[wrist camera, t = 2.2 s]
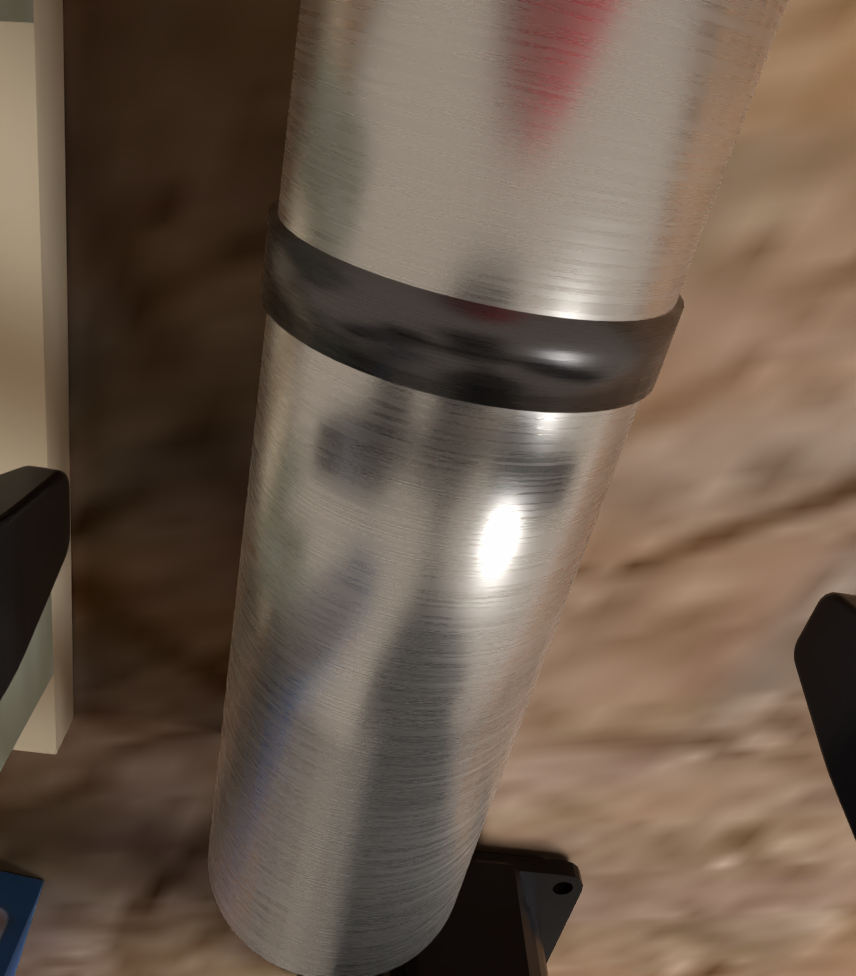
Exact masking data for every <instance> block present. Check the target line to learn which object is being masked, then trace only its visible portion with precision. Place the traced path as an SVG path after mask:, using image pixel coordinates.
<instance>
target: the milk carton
mask: <svg viewBox="0 0 856 976" xmlns="http://www.w3.org/2000/svg"><path fill="white" fill-rule="evenodd" d="M43 883H44V880H41V879H36V878H32V877H27V876H22V875H18V874H13V873H8V872H4V871H0V976H15V973H16V970H17V967H18V963H19V960H20V957H21V954H22V951H23V947H24V944H25V941H26V938H27V934H28V931H29V928H30V925H31V922H32V918H33V915H34V912H35V909H36V905H37V902H38V899H39V896H40V893H41V889H42V886H43Z"/></svg>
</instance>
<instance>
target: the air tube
mask: <svg viewBox="0 0 856 976" xmlns="http://www.w3.org/2000/svg"><path fill="white" fill-rule="evenodd" d="M787 2H788V0H301V2H300V11H299V20H298V29H297V39H296V48H295V57H294V66H293V75H292V85H291V94H290V103H289V112H288V122H287V131H286V140H285V149H284V158H283V168H282V177H281V186H280V195H279V199H278V200H276V201H275V202H274V203H273V204H272V205H271V206H270V209H269V215H268V225H267V235H266V244H265V254H264V264H263V273H262V283H261V293H260V296H261V301H262V305H263V306H264V308H265V310H266V311H267V315H266V324H265V333H264V343H263V352H262V361H261V370H260V379H259V389H258V398H257V407H256V416H255V425H254V435H253V444H252V453H251V462H250V471H249V481H248V490H247V499H246V508H245V518H244V527H243V536H242V545H241V554H240V564H239V573H238V582H237V591H236V600H235V610H234V619H233V628H232V637H231V646H230V656H229V665H228V674H227V683H226V693H225V702H224V711H223V720H222V729H221V739H220V748H219V757H218V766H217V775H216V785H215V794H214V803H213V812H212V821H211V831H210V840H209V849H208V872H209V878H210V884H211V888H212V891H213V894H214V897H215V900H216V903H217V905H218V907H219V909H220V911H221V913H222V915H223V917H224V918H225V920H226V921H227V923H228V924H229V926H230V927H231V928H232V930H233V931H234V932H235V934H236V935H237V936H238V937H239V938H240V939H241V940H242V941H243V942H244V943H245V944H246V945H247V946H248V947H249V948H251V949H252V950H253V951H255V952H256V953H257V954H258V955H260V956H261V957H262V958H264V959H266V960H268V961H269V962H271V963H273V964H274V965H276V966H278V967H280V968H283V969H285V970H288V971H290V972H292V973H295V974H299V975H303V976H375V975H378V974H382V973H385V972H388V971H390V970H392V969H394V968H396V967H399V966H401V965H403V964H404V963H406V962H407V961H409V960H410V959H412V958H413V957H415V956H417V955H418V954H419V953H420V952H421V951H422V950H423V949H425V948H426V947H427V946H428V945H429V944H430V943H431V942H432V941H433V939H434V938H435V937H436V936H437V935H438V934H439V932H440V931H441V929H442V928H443V926H444V925H445V923H446V921H447V920H448V918H449V916H450V913H451V911H452V909H453V906H454V904H455V901H456V899H457V896H458V893H459V891H460V888H461V885H462V882H463V880H464V877H465V874H466V872H467V869H468V866H469V863H470V861H471V858H472V855H473V853H474V850H475V847H476V844H477V842H478V839H479V836H480V834H481V831H482V828H483V825H484V823H485V820H486V817H487V815H488V812H489V809H490V807H491V804H492V801H493V798H494V796H495V793H496V790H497V788H498V785H499V782H500V779H501V777H502V774H503V771H504V769H505V766H506V763H507V760H508V758H509V755H510V752H511V750H512V747H513V744H514V741H515V739H516V736H517V733H518V731H519V728H520V725H521V723H522V720H523V717H524V714H525V712H526V709H527V706H528V704H529V701H530V698H531V695H532V693H533V690H534V687H535V685H536V682H537V679H538V676H539V674H540V671H541V668H542V666H543V663H544V660H545V658H546V655H547V652H548V649H549V647H550V644H551V641H552V639H553V636H554V633H555V630H556V628H557V625H558V622H559V620H560V617H561V614H562V611H563V609H564V606H565V603H566V601H567V598H568V595H569V592H570V590H571V587H572V584H573V582H574V579H575V576H576V574H577V571H578V568H579V565H580V563H581V560H582V557H583V555H584V552H585V549H586V546H587V544H588V541H589V538H590V536H591V533H592V530H593V527H594V525H595V522H596V519H597V517H598V514H599V511H600V508H601V506H602V503H603V500H604V498H605V495H606V492H607V490H608V487H609V484H610V481H611V479H612V476H613V473H614V471H615V468H616V465H617V462H618V460H619V457H620V454H621V452H622V449H623V446H624V443H625V441H626V438H627V435H628V433H629V430H630V427H631V424H632V422H633V419H634V416H635V414H636V411H637V408H638V406H639V403H640V400H642V399H644V398H645V397H646V396H647V395H648V394H649V393H650V392H651V391H652V389H653V387H654V385H655V383H656V380H657V378H658V375H659V372H660V370H661V367H662V364H663V362H664V359H665V356H666V354H667V351H668V348H669V346H670V343H671V340H672V338H673V335H674V332H675V330H676V327H677V324H678V322H679V319H680V316H681V314H682V311H683V308H684V302H683V299H682V297H681V296H680V292H681V289H682V286H683V284H684V281H685V278H686V275H687V273H688V270H689V267H690V265H691V262H692V259H693V257H694V254H695V251H696V248H697V246H698V243H699V240H700V238H701V235H702V232H703V229H704V227H705V224H706V221H707V219H708V216H709V213H710V210H711V208H712V205H713V202H714V200H715V197H716V194H717V191H718V189H719V186H720V183H721V181H722V178H723V175H724V173H725V170H726V167H727V164H728V162H729V159H730V156H731V154H732V151H733V148H734V145H735V143H736V140H737V137H738V135H739V132H740V129H741V126H742V124H743V121H744V118H745V116H746V113H747V110H748V107H749V105H750V102H751V99H752V97H753V94H754V91H755V89H756V86H757V83H758V80H759V78H760V75H761V72H762V70H763V67H764V64H765V61H766V59H767V56H768V53H769V51H770V48H771V45H772V42H773V40H774V37H775V34H776V32H777V29H778V26H779V24H780V21H781V18H782V15H783V13H784V10H785V7H786V5H787Z"/></svg>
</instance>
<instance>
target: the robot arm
mask: <svg viewBox="0 0 856 976" xmlns="http://www.w3.org/2000/svg"><path fill="white" fill-rule="evenodd" d="M69 543H70V486H69V480H68V477H67V475H66V474H65V473H64V472H63V471H60V470H56V469H49V468H43V467H37V466H23V467H20V468H17V469H14V470H11V471H9V472H6V473H3V474H0V701H1V699H2V697H3V696H4V694H5V692H6V691H7V689H8V687H9V685H10V683H11V681H12V680H13V678H14V676H15V674H16V672H17V670H18V668H19V666H20V664H21V662H22V659H23V657H24V655H25V653H26V651H27V648H28V646H29V643H30V641H31V639H32V636H33V634H34V632H35V629H36V627H37V624H38V622H39V620H40V617H41V615H42V613H43V610H44V608H45V605H46V603H47V601H48V598H49V596H50V594H51V591H52V589H53V586H54V584H55V582H56V579H57V577H58V575H59V572H60V570H61V567H62V565H63V563H64V560H65V558H66V555H67V552H68V548H69ZM794 661H795V665H796V669H797V672H798V675H799V679H800V682H801V685H802V689H803V692H804V695H805V699H806V702H807V705H808V709H809V712H810V715H811V719H812V722H813V725H814V729H815V732H816V735H817V739H818V742H819V745H820V749H821V752H822V755H823V758H824V761H825V764H826V767H827V770H828V773H829V776H830V778H831V781H832V784H833V786H834V789H835V791H836V794H837V796H838V799H839V801H840V804H841V806H842V808H843V811H844V813H845V816H846V818H847V821H848V823H849V825H850V828H851V830H852V833H853V835H854V838H855V840H856V595H849V594H843V593H835V592H831V593H829V594H826V595H825V596H823V597H822V598H821V599H820V601H819V602H818V604H817V606H816V607H815V609H814V611H813V613H812V615H811V616H810V618H809V620H808V622H807V624H806V625H805V627H804V629H803V631H802V633H801V634H800V636H799V638H798V640H797V642H796V645H795V649H794ZM582 887H583V884H582V880H581V875H580V871H579V869H578V867H577V866H576V865H575V864H573V863H570V862H566V861H558V860H548V859H539V858H529V857H519V856H510V855H500V854H491V853H481V852H474V853H473V855H472V858H471V861H470V863H469V866H468V869H467V872H466V874H465V877H464V880H463V882H462V885H461V888H460V891H459V893H458V896H457V899H456V901H455V904H454V906H453V909H452V911H451V913H450V916H449V918H448V920H447V921H446V923H445V925H444V926H443V928H442V929H441V931H440V932H439V934H438V935H437V936H436V937H435V938H434V939H433V941H432V942H431V943H430V944H429V945H428V946H427V947H426V948H425V949H423V950H422V951H421V952H420V953H419V954H418V955H417V956H415V957H413V958H412V959H410V960H409V961H407V962H406V963H404V964H403V965H401V966H399V967H396V968H394V969H392V970H390V971H388V972H385V973H382V974H378V975H375V976H548V972H547V965H546V963H547V961H548V959H549V957H550V955H551V953H552V951H553V949H554V947H555V945H556V943H557V941H558V939H559V937H560V934H561V932H562V930H563V928H564V926H565V924H566V922H567V920H568V918H569V916H570V914H571V912H572V910H573V908H574V906H575V904H576V902H577V900H578V897H579V895H580V893H581V891H582ZM297 976H303V975H299V974H297Z"/></svg>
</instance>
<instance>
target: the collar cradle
mask: <svg viewBox="0 0 856 976" xmlns="http://www.w3.org/2000/svg"><path fill="white" fill-rule="evenodd" d="M23 466H37V467H43V468H49V469H56V470H60V471H63V472H64V473H65V474H66V475H67V477H68V480H69V486H70V445H69V379H68V312H67V245H66V179H65V112H64V46H63V0H0V474H3V473H6V472H9V471H11V470H14V469H17V468H20V467H23ZM73 719H74V711H73V645H72V578H71V512H70V543H69V548H68V552H67V555H66V558H65V560H64V563H63V565H62V567H61V570H60V572H59V575H58V577H57V579H56V582H55V584H54V586H53V589H52V591H51V594H50V596H49V598H48V601H47V603H46V605H45V608H44V610H43V613H42V615H41V617H40V620H39V622H38V624H37V627H36V629H35V632H34V634H33V636H32V639H31V641H30V643H29V646H28V648H27V651H26V653H25V655H24V657H23V659H22V662H21V664H20V666H19V668H18V670H17V672H16V674H15V676H14V678H13V680H12V681H11V683H10V685H9V687H8V689H7V691H6V692H5V694H4V696H3V697H2V699H1V701H0V772H1V770H2V768H3V766H4V764H5V762H6V761H7V759H8V757H9V755H10V753H11V751H12V750H19V751H28V752H37V753H46V754H55V755H56V754H57V752H58V750H59V748H60V746H61V744H62V742H63V740H64V737H65V735H66V733H67V731H68V729H69V727H70V725H71V723H72V721H73Z"/></svg>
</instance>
